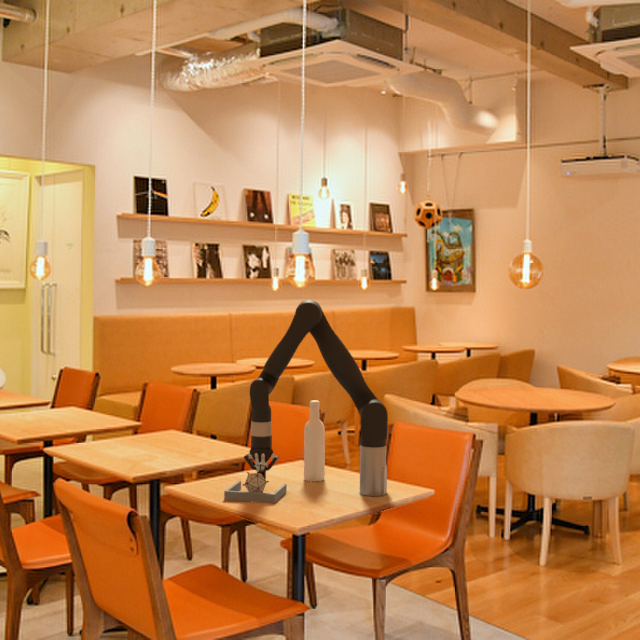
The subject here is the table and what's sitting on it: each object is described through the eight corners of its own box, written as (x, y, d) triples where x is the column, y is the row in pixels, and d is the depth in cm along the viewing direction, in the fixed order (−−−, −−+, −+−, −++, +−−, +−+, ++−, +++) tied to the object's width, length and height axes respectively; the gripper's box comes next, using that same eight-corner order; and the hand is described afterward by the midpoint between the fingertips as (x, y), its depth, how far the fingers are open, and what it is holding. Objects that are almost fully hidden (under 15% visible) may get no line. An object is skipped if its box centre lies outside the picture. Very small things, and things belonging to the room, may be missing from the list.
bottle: (319, 483, 313) (319, 403, 312) (300, 480, 316) (300, 401, 315) (328, 478, 320) (328, 400, 319) (309, 476, 324) (310, 398, 322)
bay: (286, 492, 299) (286, 484, 299) (274, 503, 284) (274, 494, 284) (238, 489, 303) (238, 480, 303) (224, 499, 289) (224, 491, 288)
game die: (258, 506, 295) (263, 488, 288) (237, 496, 296) (241, 477, 290) (269, 488, 301) (273, 470, 295) (248, 478, 303) (252, 460, 297)
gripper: (282, 432, 301) (282, 480, 302) (247, 430, 304) (247, 478, 305) (276, 436, 294) (276, 485, 295) (240, 434, 297) (240, 483, 298)
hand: (261, 481), depth 300 cm, fingers closed
